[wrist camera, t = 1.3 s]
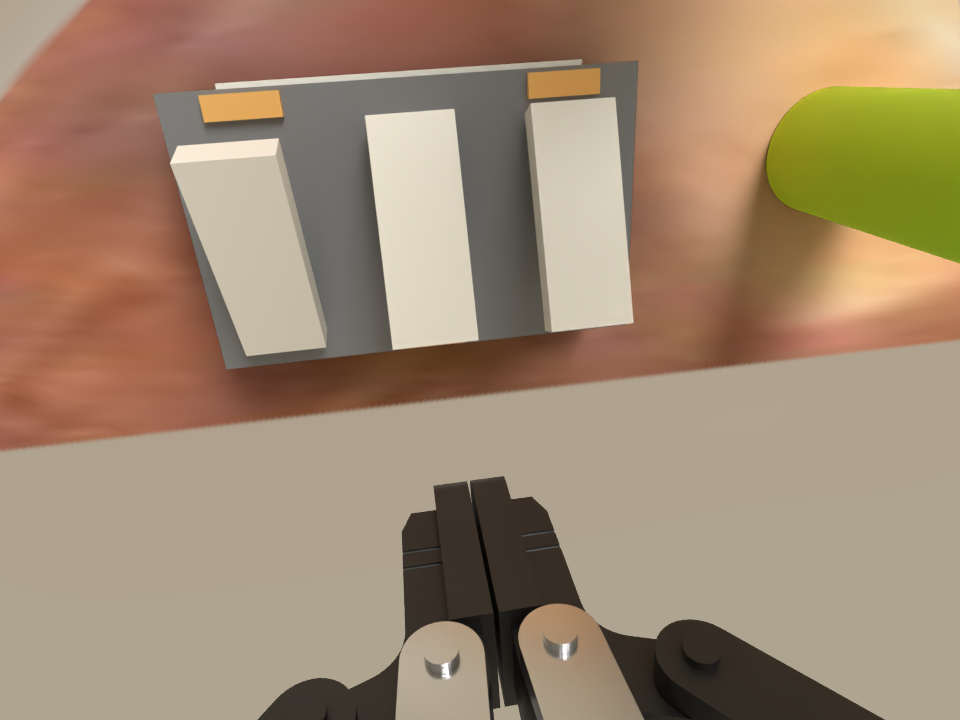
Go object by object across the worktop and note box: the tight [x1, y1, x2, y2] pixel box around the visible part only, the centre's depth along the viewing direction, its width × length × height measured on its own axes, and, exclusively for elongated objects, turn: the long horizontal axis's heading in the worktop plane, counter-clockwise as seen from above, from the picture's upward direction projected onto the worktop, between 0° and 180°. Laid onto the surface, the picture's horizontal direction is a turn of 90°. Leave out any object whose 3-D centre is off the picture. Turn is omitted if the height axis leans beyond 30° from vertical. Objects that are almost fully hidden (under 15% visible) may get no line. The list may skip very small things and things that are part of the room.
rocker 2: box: [365, 109, 479, 350], centre depth 23 cm, size 3×8×1 cm, turn 4°
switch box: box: [153, 59, 638, 369], centre depth 26 cm, size 18×11×5 cm, turn 94°
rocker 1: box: [170, 138, 327, 356], centre depth 22 cm, size 3×8×1 cm, turn 4°
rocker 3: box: [525, 97, 633, 332], centre depth 23 cm, size 3×8×1 cm, turn 4°
